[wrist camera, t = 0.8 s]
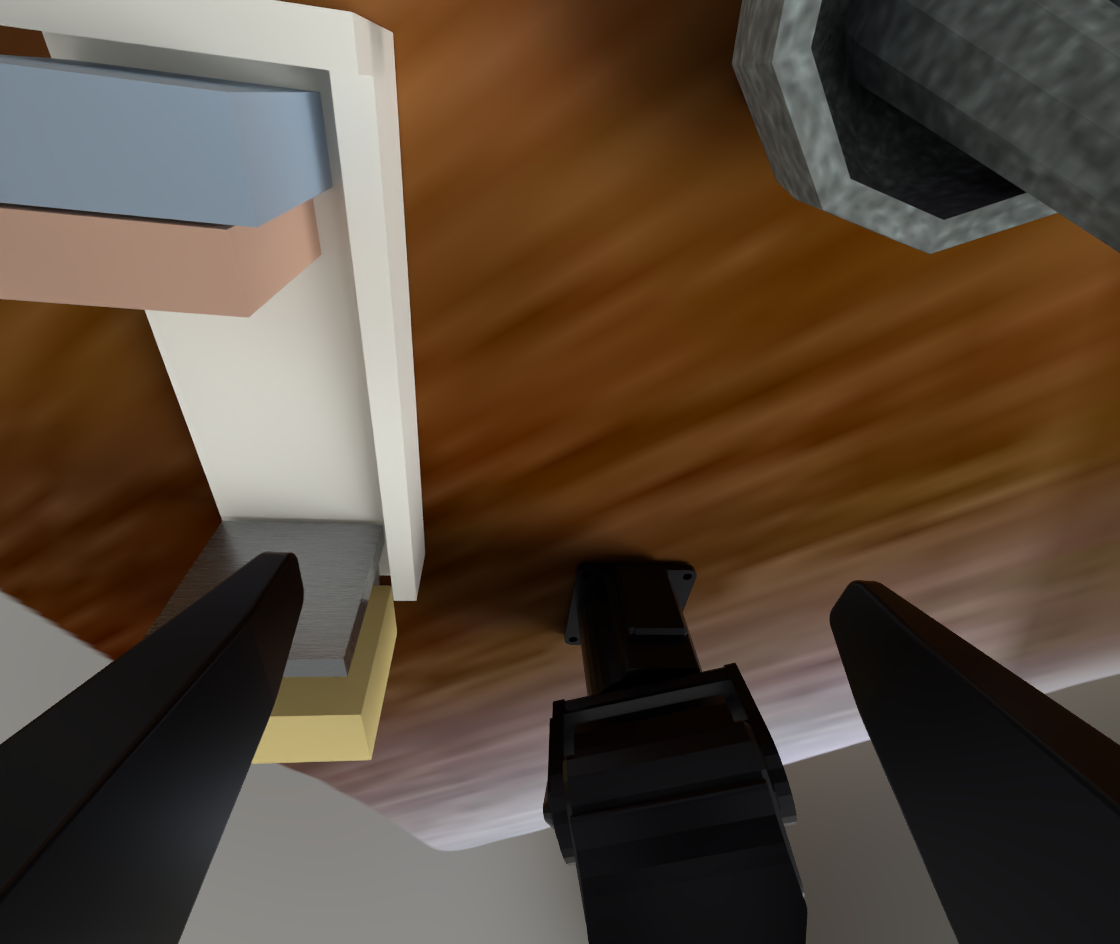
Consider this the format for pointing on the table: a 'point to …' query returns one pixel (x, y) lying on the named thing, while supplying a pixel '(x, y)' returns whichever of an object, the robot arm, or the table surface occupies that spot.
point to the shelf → (327, 322)
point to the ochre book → (336, 699)
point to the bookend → (327, 574)
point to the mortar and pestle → (939, 111)
